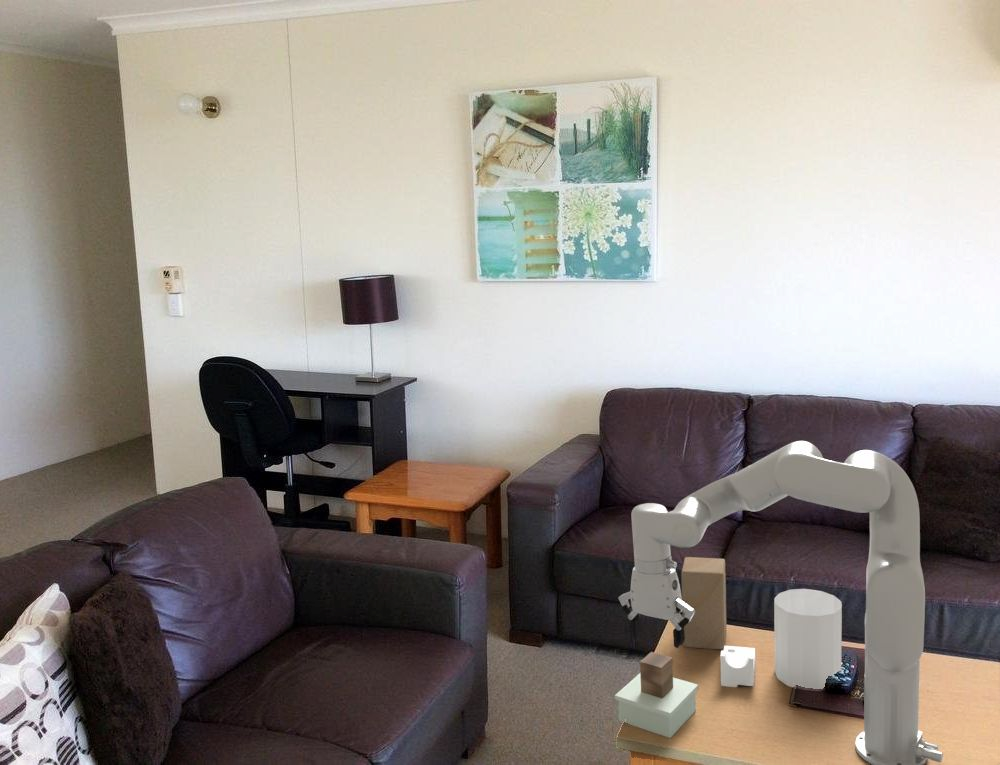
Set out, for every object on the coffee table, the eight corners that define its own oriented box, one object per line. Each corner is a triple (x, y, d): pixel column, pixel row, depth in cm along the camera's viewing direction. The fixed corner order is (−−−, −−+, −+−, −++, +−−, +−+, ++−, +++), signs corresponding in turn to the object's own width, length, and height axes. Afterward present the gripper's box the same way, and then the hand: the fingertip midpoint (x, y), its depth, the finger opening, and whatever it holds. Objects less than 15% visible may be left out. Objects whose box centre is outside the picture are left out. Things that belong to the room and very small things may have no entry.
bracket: (753, 690, 194) (753, 658, 193) (721, 686, 197) (720, 655, 195) (755, 662, 207) (754, 632, 205) (724, 659, 209) (724, 629, 207)
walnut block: (673, 687, 186) (672, 657, 184) (662, 698, 182) (661, 667, 180) (652, 681, 189) (651, 651, 187) (641, 692, 185) (640, 661, 184)
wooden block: (683, 647, 215) (681, 571, 212) (686, 629, 225) (684, 556, 221) (724, 650, 212) (723, 573, 209) (726, 632, 222) (725, 558, 218)
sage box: (698, 710, 187) (698, 684, 186) (671, 740, 177) (670, 713, 176) (645, 693, 195) (644, 669, 194) (615, 721, 185) (614, 695, 184)
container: (797, 696, 190) (797, 620, 187) (762, 666, 204) (762, 594, 201) (855, 685, 194) (855, 609, 190) (817, 655, 207) (817, 584, 204)
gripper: (699, 563, 178) (703, 641, 180) (625, 551, 188) (630, 625, 191) (682, 576, 172) (687, 657, 175) (607, 563, 183) (613, 639, 185)
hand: (658, 640), depth 183 cm, fingers open, 9 cm apart
